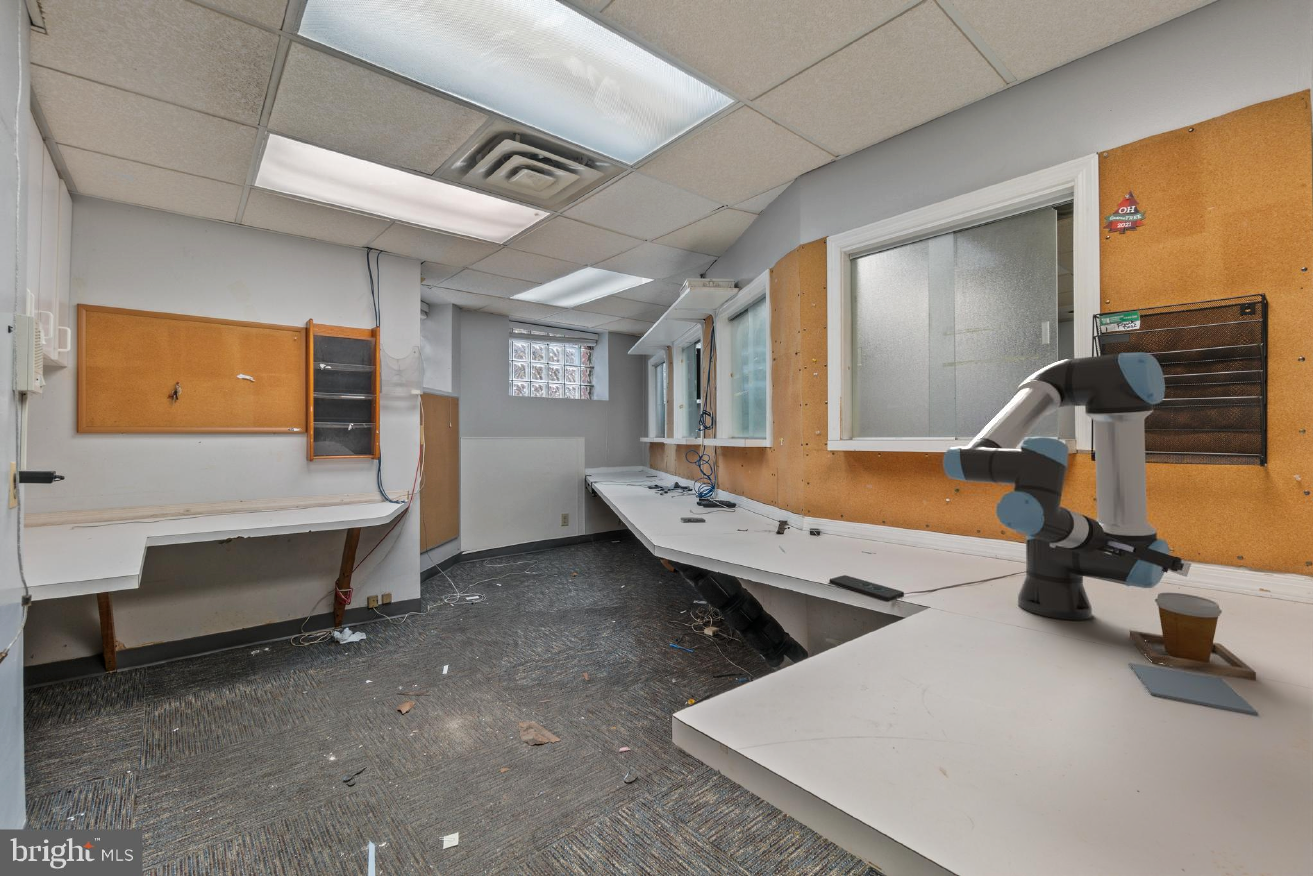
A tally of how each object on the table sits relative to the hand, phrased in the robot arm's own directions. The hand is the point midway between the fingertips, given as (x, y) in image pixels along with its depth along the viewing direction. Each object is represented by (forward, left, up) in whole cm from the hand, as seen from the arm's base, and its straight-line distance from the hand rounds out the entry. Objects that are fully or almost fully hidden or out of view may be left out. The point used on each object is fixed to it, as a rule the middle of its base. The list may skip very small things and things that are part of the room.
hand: (1146, 558), depth 104 cm
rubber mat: (+2, -14, -20) cm, 25 cm away
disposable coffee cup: (+7, +3, -21) cm, 22 cm away
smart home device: (-57, +18, -21) cm, 64 cm away
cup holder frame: (+7, +3, -20) cm, 22 cm away
